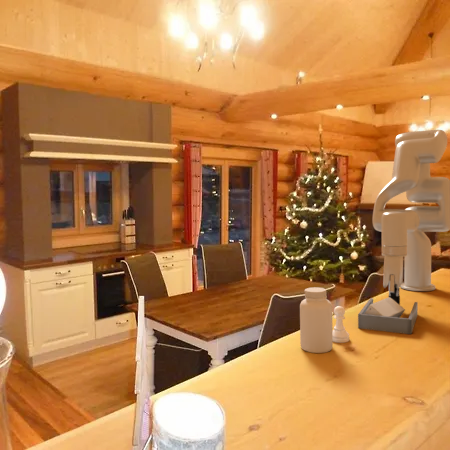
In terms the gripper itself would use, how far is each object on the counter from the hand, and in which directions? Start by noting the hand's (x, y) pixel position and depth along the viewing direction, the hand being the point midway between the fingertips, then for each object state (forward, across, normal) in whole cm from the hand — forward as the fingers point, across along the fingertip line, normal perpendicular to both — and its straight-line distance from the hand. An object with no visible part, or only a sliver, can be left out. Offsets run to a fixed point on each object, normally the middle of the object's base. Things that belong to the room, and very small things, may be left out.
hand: (394, 307), depth 144 cm
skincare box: (-2, +8, +1) cm, 8 cm away
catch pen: (+1, +11, 0) cm, 11 cm away
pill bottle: (+1, +41, -13) cm, 44 cm away
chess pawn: (+1, +33, -10) cm, 34 cm away
